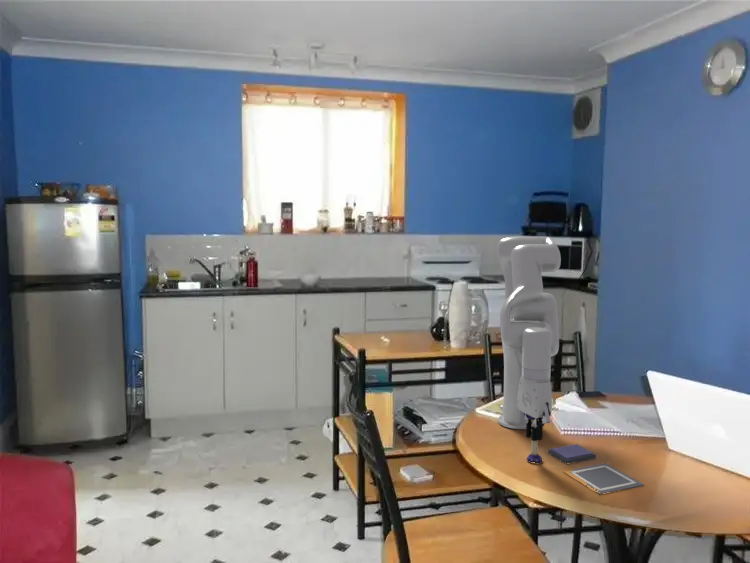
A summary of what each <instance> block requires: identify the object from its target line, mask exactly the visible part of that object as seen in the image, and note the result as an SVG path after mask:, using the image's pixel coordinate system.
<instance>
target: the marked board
mask: <svg viewBox="0 0 750 563" xmlns="http://www.w3.org/2000/svg"><path fill="white" fill-rule="evenodd" d="M572 470H573V471H572V472H570V473H572V474H573V475H575V476H577V477H578V478H580V479H582V480H583V481H585V482H586V483H587V485H589V486H591V488H593V487H594V488H596V490H595V491H597V490H599V491H598V493H599V492H600V493H599V494H602V495H604V494H603V493H607V492H612V493H614V492H613V491H616V492H619V491H618V490H621V491H624V490H623V489H626V490H630V489H633V488H639V487H644V486H645V484H644V483H643V482H640V480H637V479H635V478H633V477H631V475H628V474H626V473H625V472H622V470H619V469H617V468H616V467H613V466H611V465H610V464H608V463H607V462H605V463H599V464H594V465H588V466H583V467H577V468H573V469H572ZM578 472H579V473H578ZM587 485H586V486H587ZM586 486H585V487H586ZM594 488H593V489H594ZM629 488H630V489H629ZM607 494H608V493H607Z"/></svg>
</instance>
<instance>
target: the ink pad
mask: <svg viewBox="0 0 750 563" xmlns="http://www.w3.org/2000/svg"><path fill="white" fill-rule="evenodd" d="M548 453H549V455H550V454H551V455H550V456H551V457H553V456H554V457H553V458H555V457H556V458H555V459H557V460H558V459H559V460H558V461H560V460H561V461H560V462H561V463H563V462H564V463H563V464H565V463H566V464H565V465H568V464H567V463H570V464H574V463H573V462H575V463H579V462H586V461H590V460H595V459H596V457H597V456H596V455H597V454H596V453H594V452H592V451H590V450H589V449H587V448H585V447H583V446H581V445H579V444H578V443H577V444H572V445H565V446H559V447H554V448H553V447H552V448H548V449H547V454H548Z"/></svg>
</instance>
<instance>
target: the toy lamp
mask: <svg viewBox="0 0 750 563" xmlns="http://www.w3.org/2000/svg"><path fill="white" fill-rule="evenodd" d="M526 417H527V418H528V419H531V421H532V424H531V427H533V421H534V420H535V418H533V417H531V416H529V415H528V414H526ZM539 419H542V418H539ZM539 419H538V420H539ZM531 432H532V429H531ZM531 438H532V434H531ZM530 442H531V445H530V447H531V451H530V453H529V455H527V457H526V461H527V460H528V461H530V462H535V463H540V462H542V463H543V461H542V460H543V458H542V456H541V455H540V454H539V450H538V448H539V445H538V443H539V440H538V441H532V439H531V440H530ZM528 461H527V462H528ZM540 464H541V463H540Z"/></svg>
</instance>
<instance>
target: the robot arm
mask: <svg viewBox="0 0 750 563" xmlns="http://www.w3.org/2000/svg"><path fill="white" fill-rule="evenodd" d="M496 248H497V249H496V252H497V260H498V265H499V267H500V270H501V272H502V274H503V279H504V292H505V293H504V294H505V297H504V298H505V301H504V302H503V304H502V306H501V309H500V312H499V313H500V315H499V319H500V320H499V324H500V337H501V343H502V352H503V367H504V368H503V405H500V406H499V409H500V410H501V411H502V414H501V415H499V416H498V419H497V422H498V424H499V425H501V426H502V427H505V428H509V429H512V430H525V437H526V438H527V439H531V440H532V441H538V442H539V441H542V440H543V437H544V436H543V433H544V432H543V430H544V427H545V424H550V423H551V419H550V417H551V416H552V411H553V398H552V384H551V367H552V366H551V365H552V364H551V363H552V357H555V356H556V355H557V354H558V352H559V348H560V335H559V332H560V331H559V318H558V317H559V316H558V314H559V311H558V305H557V304H558V303H557V300H556V298H555V296H554V294H552V293H548V292H544V284H543V276H542V273H556V272H558V270H560V267H561V263H562V262H561V261H562V258H561V252H560V249H559V247H558V245H557V243H556V242H555V241H554V239H553V238H552V237H550V236H549V237H548V236H508V237H504V238H501V239H500V240H499V241H498V243H497V247H496ZM526 414H528V415H529V416H531V417H533V418H535V420H534V421H533V427H531V424H532V421H531V419H528V418H527V417H526ZM539 418H542V419H539ZM538 419H539V420H538ZM531 429H532V432H531ZM531 434H532V437H531Z"/></svg>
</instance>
